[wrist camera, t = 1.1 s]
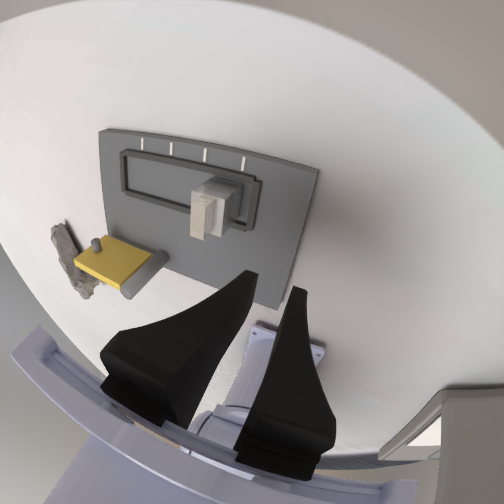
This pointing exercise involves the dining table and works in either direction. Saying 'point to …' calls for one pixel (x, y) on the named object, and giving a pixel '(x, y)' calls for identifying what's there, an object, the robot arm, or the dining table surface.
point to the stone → (72, 262)
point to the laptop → (458, 444)
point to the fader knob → (214, 207)
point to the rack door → (111, 260)
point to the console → (179, 209)
